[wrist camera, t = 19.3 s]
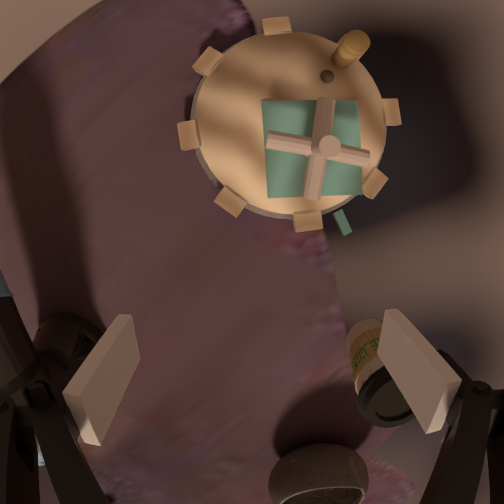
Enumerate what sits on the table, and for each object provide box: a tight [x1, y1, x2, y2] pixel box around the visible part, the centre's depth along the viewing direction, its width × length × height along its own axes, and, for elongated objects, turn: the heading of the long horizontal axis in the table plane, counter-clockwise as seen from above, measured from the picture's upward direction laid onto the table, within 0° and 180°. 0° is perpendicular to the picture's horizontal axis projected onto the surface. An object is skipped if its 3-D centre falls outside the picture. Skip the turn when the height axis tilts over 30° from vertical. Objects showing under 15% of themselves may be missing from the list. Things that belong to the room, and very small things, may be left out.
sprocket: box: [177, 16, 401, 232], centre depth 31 cm, size 26×26×9 cm
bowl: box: [268, 443, 369, 504], centre depth 47 cm, size 18×18×13 cm
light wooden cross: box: [266, 97, 370, 201], centre depth 30 cm, size 10×10×10 cm
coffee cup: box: [346, 319, 416, 428], centre depth 38 cm, size 10×10×15 cm
